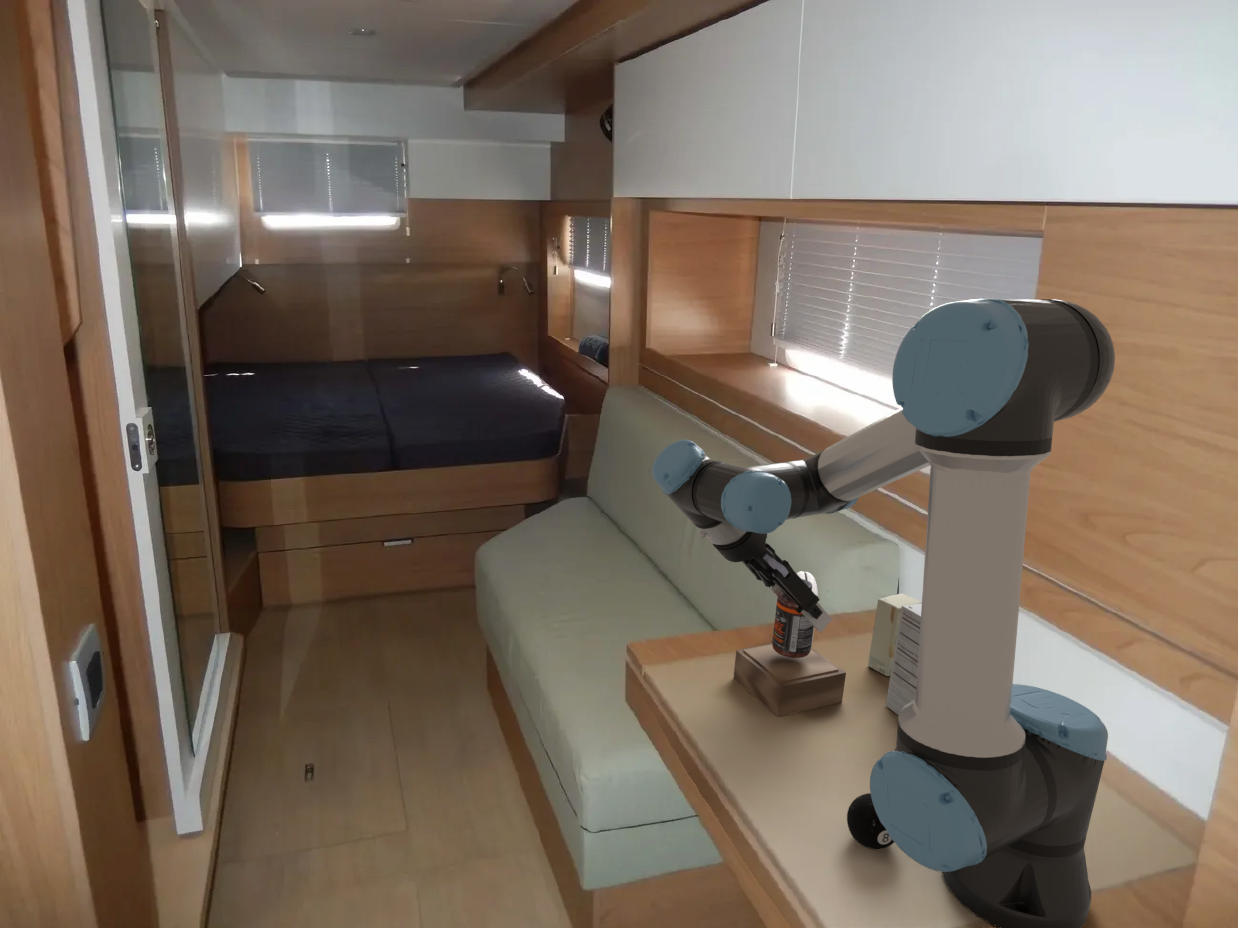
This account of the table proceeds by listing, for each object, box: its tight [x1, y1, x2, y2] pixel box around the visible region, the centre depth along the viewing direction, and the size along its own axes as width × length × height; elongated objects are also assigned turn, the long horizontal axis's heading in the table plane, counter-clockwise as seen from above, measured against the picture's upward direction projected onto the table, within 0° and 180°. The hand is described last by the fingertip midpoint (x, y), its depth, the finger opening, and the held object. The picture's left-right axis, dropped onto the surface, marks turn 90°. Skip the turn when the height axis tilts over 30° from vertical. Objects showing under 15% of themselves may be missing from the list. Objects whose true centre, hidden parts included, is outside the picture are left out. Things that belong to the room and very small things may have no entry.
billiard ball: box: [846, 792, 895, 851], centre depth 105 cm, size 6×6×6 cm
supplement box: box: [885, 603, 922, 716], centre depth 132 cm, size 10×9×17 cm
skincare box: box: [867, 592, 922, 677], centre depth 147 cm, size 6×4×12 cm
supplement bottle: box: [771, 579, 815, 658], centre depth 136 cm, size 6×6×11 cm
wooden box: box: [733, 642, 847, 717], centre depth 138 cm, size 12×12×5 cm
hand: (811, 615), depth 137 cm, fingers closed on supplement bottle, 6 cm apart
